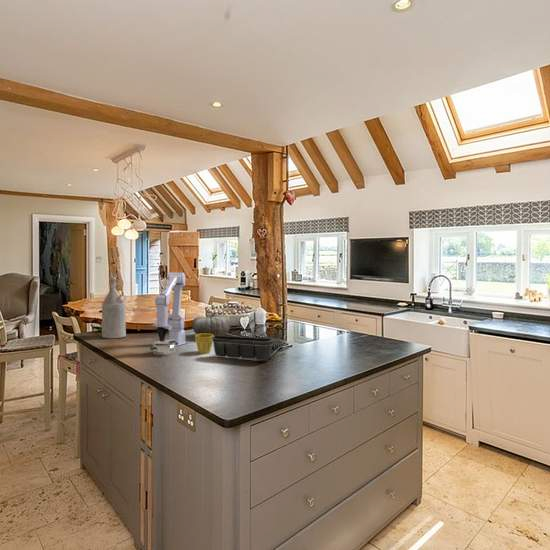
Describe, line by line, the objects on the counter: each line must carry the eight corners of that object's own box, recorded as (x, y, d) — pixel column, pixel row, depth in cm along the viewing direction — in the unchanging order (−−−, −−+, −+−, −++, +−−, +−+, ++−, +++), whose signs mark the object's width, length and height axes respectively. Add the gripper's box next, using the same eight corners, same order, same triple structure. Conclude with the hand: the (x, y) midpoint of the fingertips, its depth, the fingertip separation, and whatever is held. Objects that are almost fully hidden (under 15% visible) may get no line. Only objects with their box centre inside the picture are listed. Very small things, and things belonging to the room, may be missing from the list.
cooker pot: (169, 348, 230) (170, 340, 229) (183, 352, 223) (183, 343, 222) (144, 354, 216) (144, 345, 216) (158, 357, 209) (158, 348, 209)
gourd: (221, 338, 249) (218, 311, 251) (186, 341, 256) (184, 315, 258) (236, 335, 273) (234, 310, 274) (204, 338, 280) (202, 314, 281)
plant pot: (209, 355, 217) (209, 337, 217) (192, 353, 219) (192, 336, 219) (216, 350, 227) (216, 334, 227) (199, 349, 229) (199, 333, 229)
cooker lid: (166, 341, 227) (166, 339, 227) (182, 340, 219) (182, 339, 219) (148, 344, 218) (148, 342, 218) (164, 344, 209) (164, 342, 209)
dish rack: (208, 358, 210) (208, 336, 210) (239, 342, 252) (239, 323, 252) (269, 365, 200) (269, 341, 200) (290, 346, 243) (291, 327, 242)
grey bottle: (117, 339, 251) (118, 277, 249) (96, 337, 257) (96, 276, 255) (131, 336, 263) (131, 276, 261) (111, 334, 269) (111, 276, 267)
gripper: (148, 316, 221) (148, 340, 221) (164, 318, 212) (164, 343, 213) (158, 314, 226) (158, 338, 227) (175, 317, 218) (174, 341, 218)
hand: (162, 340), depth 220 cm, fingers closed, pressing on cooker lid
